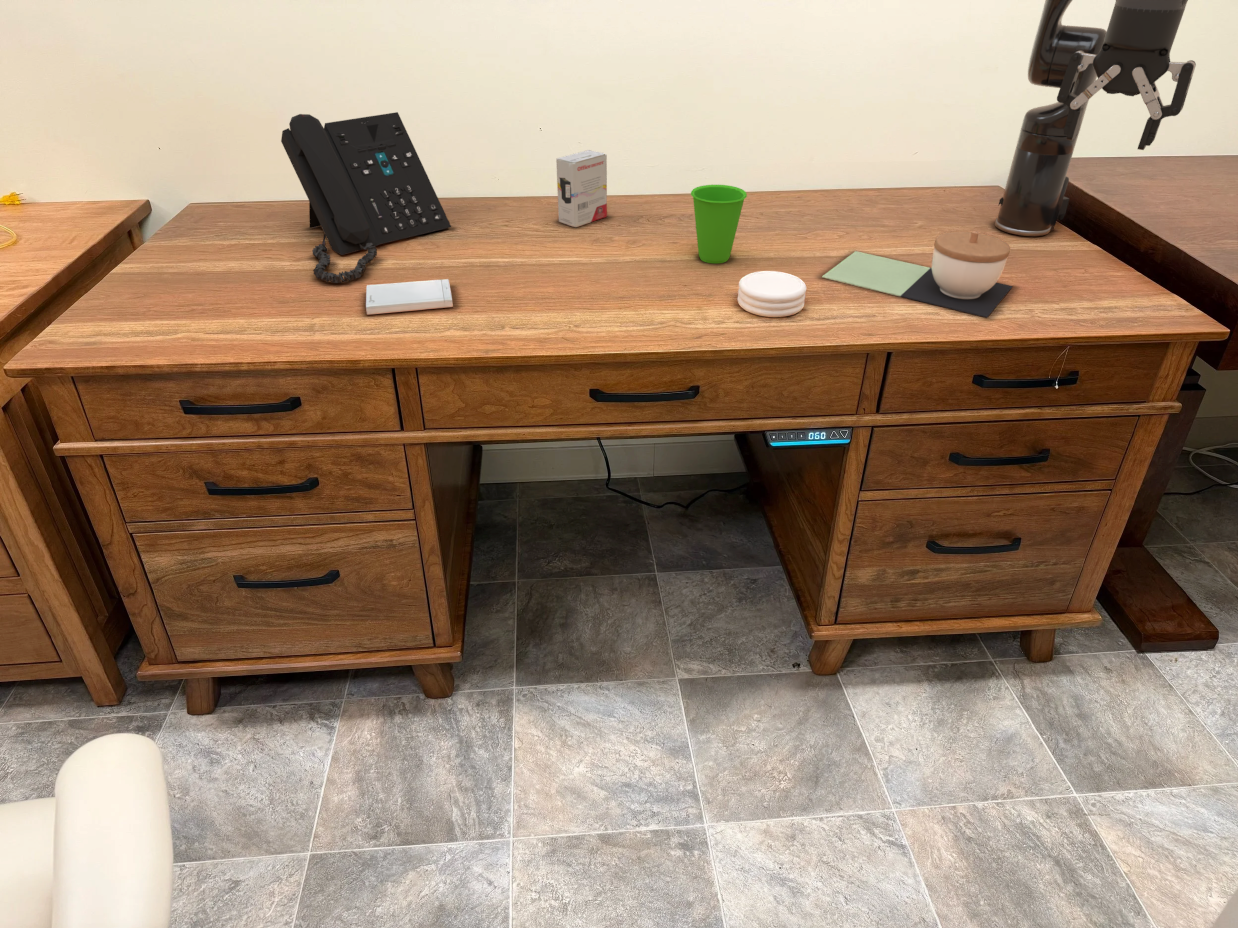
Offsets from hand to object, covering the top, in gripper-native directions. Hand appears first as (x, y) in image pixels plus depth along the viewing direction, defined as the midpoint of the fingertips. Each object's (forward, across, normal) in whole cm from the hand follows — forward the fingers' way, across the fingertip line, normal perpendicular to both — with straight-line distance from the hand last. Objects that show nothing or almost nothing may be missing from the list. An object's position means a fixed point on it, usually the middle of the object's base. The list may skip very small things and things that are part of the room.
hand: (1105, 143), depth 109 cm
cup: (+24, +51, +10) cm, 58 cm away
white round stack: (+24, +35, +21) cm, 48 cm away
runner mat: (+24, +20, 0) cm, 32 cm away
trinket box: (+24, +13, 0) cm, 28 cm away
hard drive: (+24, +80, +53) cm, 98 cm away
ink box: (+24, +81, +8) cm, 85 cm away
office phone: (+24, +104, +40) cm, 114 cm away
